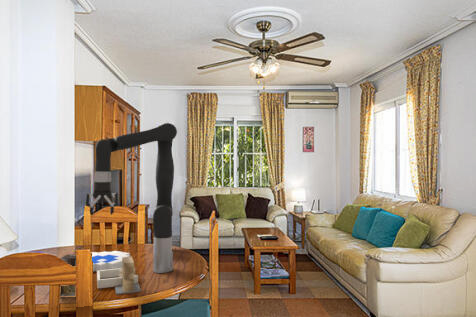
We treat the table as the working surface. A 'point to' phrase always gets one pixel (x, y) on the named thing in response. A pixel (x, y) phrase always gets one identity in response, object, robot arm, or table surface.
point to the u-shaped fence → (111, 281)
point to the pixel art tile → (108, 260)
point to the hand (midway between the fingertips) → (101, 214)
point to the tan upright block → (127, 274)
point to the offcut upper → (121, 273)
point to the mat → (120, 291)
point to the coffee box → (68, 289)
